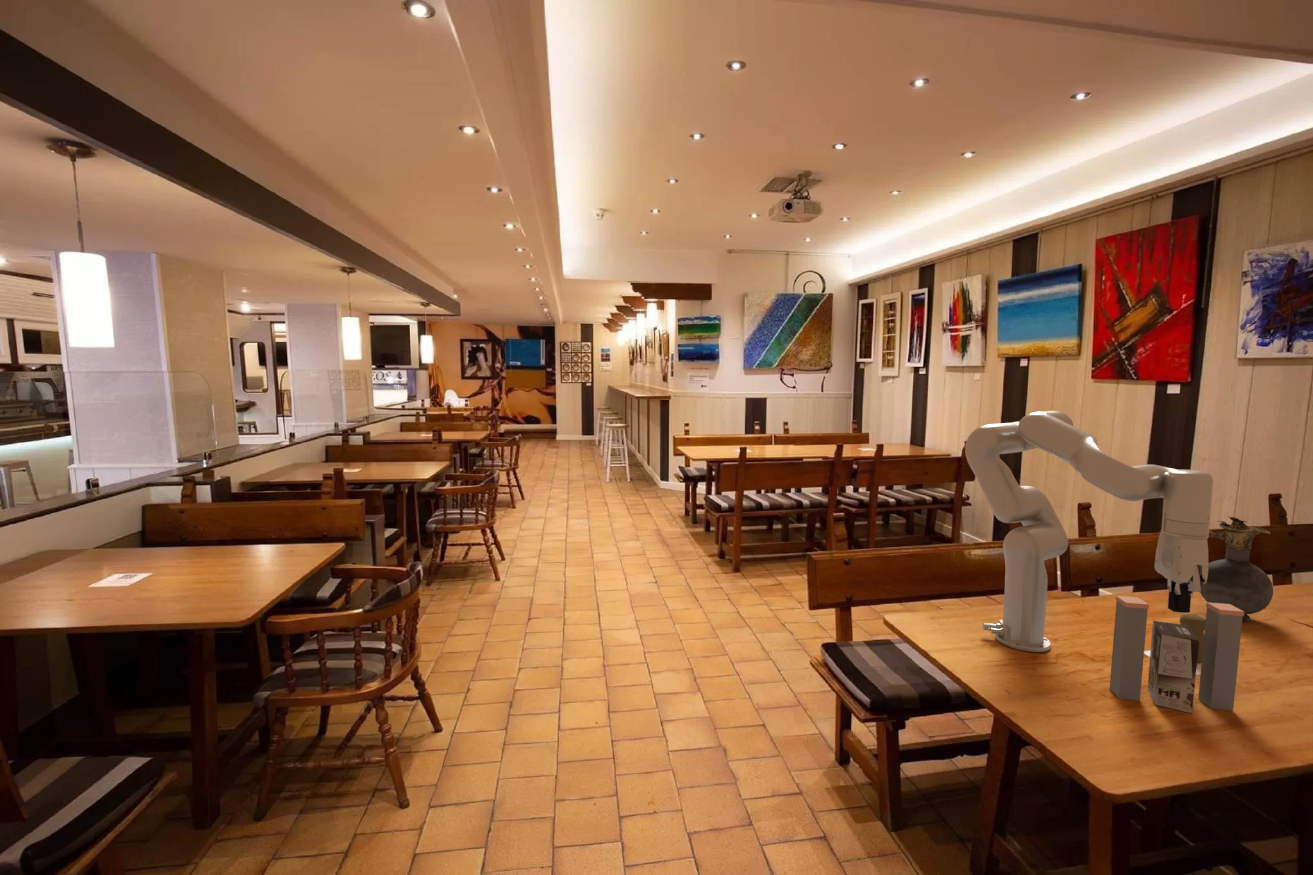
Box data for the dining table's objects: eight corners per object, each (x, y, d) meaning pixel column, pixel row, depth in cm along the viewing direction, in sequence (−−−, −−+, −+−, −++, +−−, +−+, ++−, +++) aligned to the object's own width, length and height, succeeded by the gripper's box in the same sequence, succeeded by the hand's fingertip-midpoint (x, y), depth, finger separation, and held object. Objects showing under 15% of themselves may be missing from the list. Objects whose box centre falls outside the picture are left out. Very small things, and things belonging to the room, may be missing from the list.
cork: (1212, 664, 144) (1217, 621, 143) (1184, 662, 145) (1188, 619, 144) (1195, 653, 150) (1199, 612, 149) (1168, 651, 151) (1172, 610, 150)
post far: (1210, 708, 125) (1220, 609, 122) (1197, 698, 129) (1206, 602, 127) (1234, 711, 124) (1244, 611, 121) (1220, 700, 128) (1229, 604, 126)
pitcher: (1263, 630, 163) (1274, 525, 160) (1175, 607, 179) (1184, 512, 176) (1274, 621, 169) (1285, 520, 166) (1188, 600, 185) (1197, 508, 182)
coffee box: (1193, 714, 123) (1200, 640, 121) (1154, 705, 126) (1160, 633, 124) (1183, 694, 130) (1190, 625, 129) (1146, 686, 134) (1152, 618, 132)
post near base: (1118, 698, 129) (1126, 602, 126) (1108, 688, 133) (1116, 595, 131) (1140, 701, 128) (1148, 604, 125) (1130, 691, 132) (1137, 597, 130)
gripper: (1144, 519, 132) (1138, 597, 134) (1186, 535, 118) (1179, 623, 120) (1183, 520, 131) (1177, 599, 132) (1231, 537, 116) (1223, 626, 118)
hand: (1178, 610), depth 126 cm, fingers closed
